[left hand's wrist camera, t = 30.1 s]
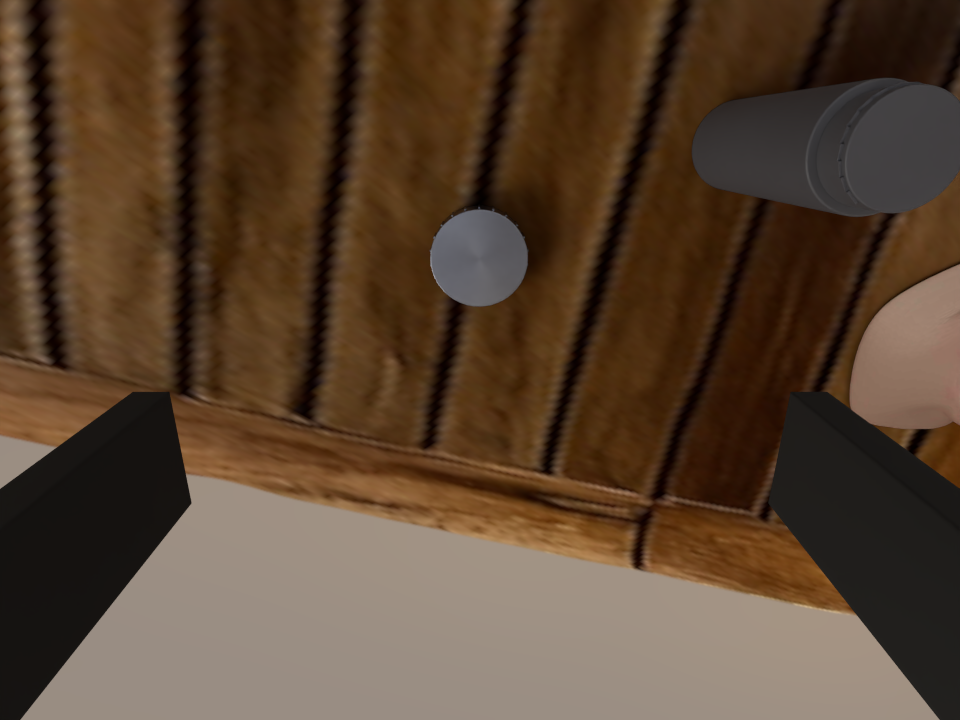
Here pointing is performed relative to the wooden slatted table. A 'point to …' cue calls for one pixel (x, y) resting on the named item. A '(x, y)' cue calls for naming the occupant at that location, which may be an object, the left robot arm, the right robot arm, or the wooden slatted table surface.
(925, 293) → the anatomical model
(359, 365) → the wooden slatted table surface
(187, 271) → the wooden slatted table surface
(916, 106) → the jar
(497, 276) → the lid
